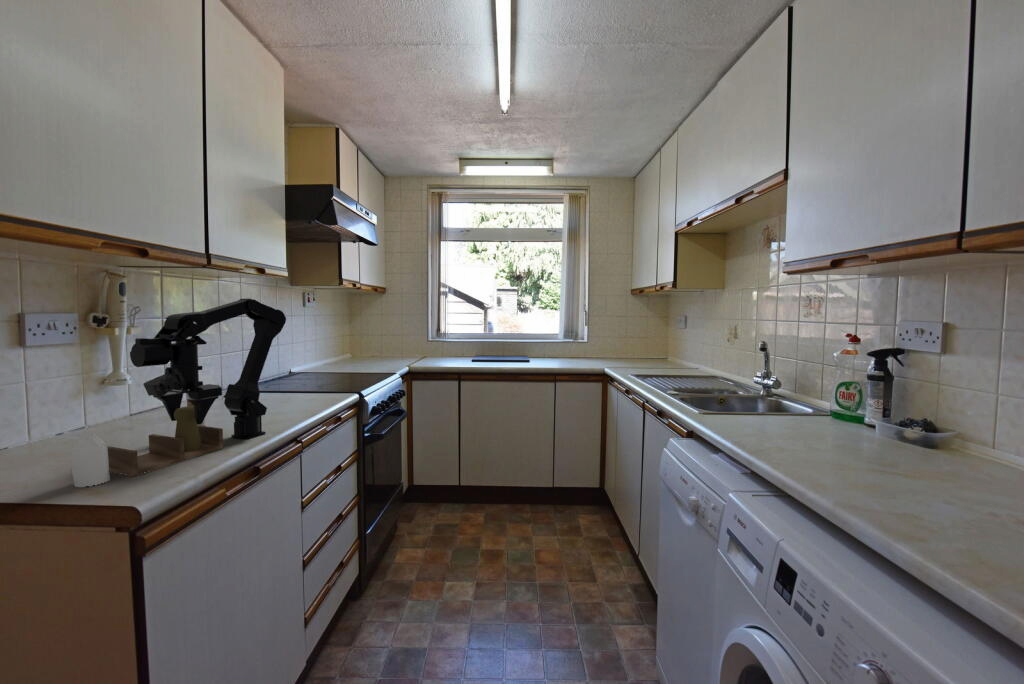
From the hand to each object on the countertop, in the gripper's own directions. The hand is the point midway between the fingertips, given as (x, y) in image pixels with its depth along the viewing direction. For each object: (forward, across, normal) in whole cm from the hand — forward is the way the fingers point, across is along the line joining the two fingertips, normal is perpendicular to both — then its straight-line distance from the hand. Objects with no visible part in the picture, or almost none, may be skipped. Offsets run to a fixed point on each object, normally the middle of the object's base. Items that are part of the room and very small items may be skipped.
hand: (186, 422), depth 110 cm
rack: (+8, 0, -5) cm, 9 cm away
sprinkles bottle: (+8, -12, +11) cm, 18 cm away
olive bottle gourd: (+7, 0, 0) cm, 7 cm away
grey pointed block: (+8, +1, -21) cm, 22 cm away
